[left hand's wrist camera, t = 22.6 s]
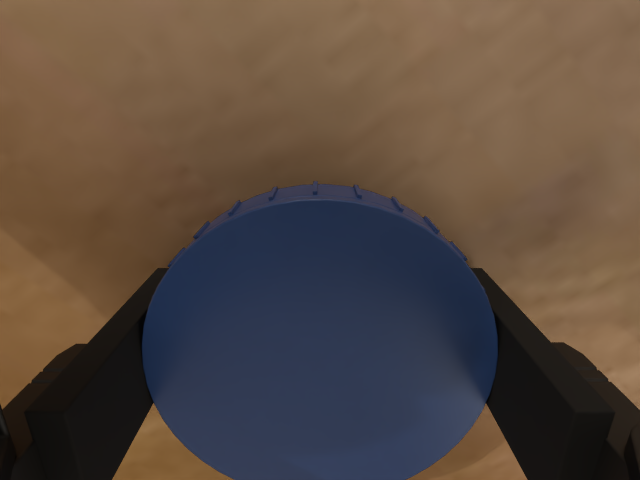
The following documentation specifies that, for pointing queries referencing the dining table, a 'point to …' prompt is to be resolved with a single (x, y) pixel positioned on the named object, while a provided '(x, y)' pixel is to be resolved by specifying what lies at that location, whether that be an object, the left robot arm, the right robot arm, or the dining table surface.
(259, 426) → the lid
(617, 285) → the dining table surface
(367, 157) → the dining table surface
